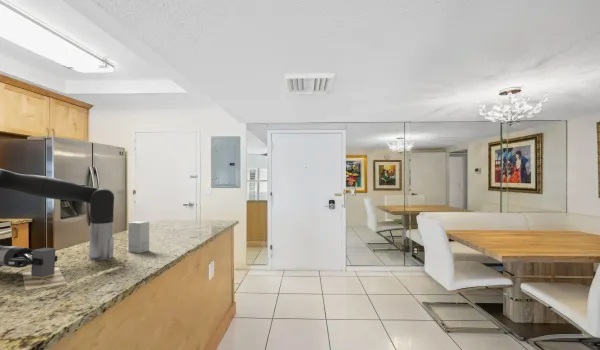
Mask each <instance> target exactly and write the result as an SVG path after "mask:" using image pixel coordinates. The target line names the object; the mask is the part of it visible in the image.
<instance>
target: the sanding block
mask: <svg viewBox="0 0 600 350" xmlns="http://www.w3.org/2000/svg"><path fill="white" fill-rule="evenodd" d="M31 250H32V258H34V259H35V258H36V259H43V265H41V266H39V265H32V266H31V277H33V278H40V279H43V278H46V277H49V276H53V275H54V270H55V268H56V262H55V256H56V248H54V247H53V248H52V247H42V248H37V249H36V248H35V249H31Z"/></svg>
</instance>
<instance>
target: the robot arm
mask: <svg viewBox="0 0 600 350" xmlns="http://www.w3.org/2000/svg"><path fill="white" fill-rule="evenodd" d="M0 189H5V190H11V191H17V192H21V193H24V194H26V195H31V196H35V197H40V198H45V199H51V200H58V201H61V200H62V201H74V202H75V201H76V202H82V203H86V204H89V207H90V208H89V209H90V210H89V218H90V219H89V244H88V260H90V261H91V260H92V261H93V260H94V261H105V260H111V259H112V258H113V257H114V245H115V239H114V238H115V236H114V235H113V234H114V232H113V231H114V206H115V195H114V192H113V191H112V190H110V189H107V188H103V187H102V188H100V187H92V186H86V185H81V184H77V183H74V182H71V181H68V180H63V179H60V178H55V177H51V176H46V175H38V174H37V175H36V174H22V173H17V172H14V171H10V170H6V169H2V168H0ZM32 250H33V249H31V248H29V247H23V246H15V245H13V246H11V245H9V246H8V245H0V266H4V267H11V268H18V269H21V268H24V267H25V268H26V267H27V266H31V267H32V265H39V266H41V265H43V259H36V258H35V259H34V258H32ZM57 262H58V256H57V255H55V263H57Z"/></svg>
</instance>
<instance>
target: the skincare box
mask: <svg viewBox="0 0 600 350" xmlns="http://www.w3.org/2000/svg"><path fill="white" fill-rule="evenodd" d="M127 225H128V229H127V230H128V233H127V234H128V235H127V236H128V240H127V241H128V245H127V247H128V248H127V249H128V251H127V252H128V253H137V254H138V253H139V254H141V253H146V252H149V251H150V221H143V220H138V221H137V220H136V221H135V220H134V221H129V222H128V224H127Z"/></svg>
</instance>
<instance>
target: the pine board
mask: <svg viewBox="0 0 600 350" xmlns="http://www.w3.org/2000/svg"><path fill="white" fill-rule="evenodd" d="M31 271H32V270H31ZM31 271H25V272H22V278H23V283H24V289H25V291H30V290H35V289H43V288H47V287H49V288H48V289H46V291H49V290H54V289H60V288H66V287H68V282H67V280H66V279H65V277H64V275H63V273H62V271H61V269H60V268H59V267H55V270H54V275H53V276H49V277H46V278H43V279H40V278H33V277H31ZM50 287H51V288H50Z"/></svg>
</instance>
